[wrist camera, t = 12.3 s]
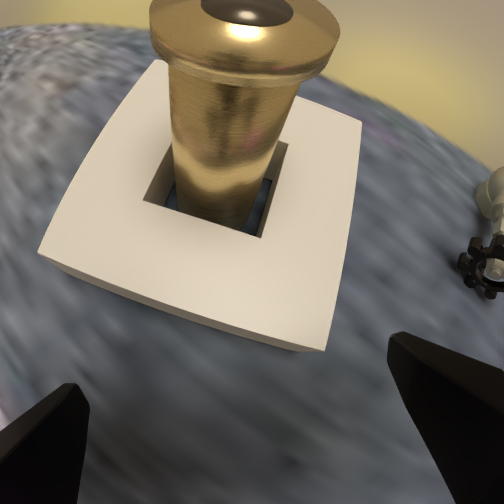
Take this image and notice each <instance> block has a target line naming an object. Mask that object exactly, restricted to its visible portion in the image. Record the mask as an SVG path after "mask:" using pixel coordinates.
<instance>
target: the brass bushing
mask: <svg viewBox="0 0 504 504" xmlns="http://www.w3.org/2000/svg"><path fill="white" fill-rule="evenodd" d="M149 19H150V40H151V44H152V47H153V49H154V51H155V52H156V53H157V55H158V56H159V57H160V58H161V59H162V60H164V61H165V62H166V63H167V64H168V77H169V101H170V120H171V135H172V149H173V162H174V174H175V185H176V195H177V205H178V212H181V213H184V214H187V215H190V216H193V217H196V218H199V219H203V220H206V221H209V222H212V223H215V224H218V225H221V226H224V227H227V228H230V229H233V230H236V231H239V230H240V229H241V228H242V227H243V226H244V224H245V223H246V221H247V219H248V217H249V214H250V212H251V209H252V206H253V204H254V201H255V199H256V196H257V193H258V191H259V188H260V186H261V183H262V180H263V178H264V175H265V173H266V170H267V168H268V165H269V162H270V160H271V157H272V155H273V152H274V150H275V147H276V144H277V142H278V139H279V137H280V134H281V132H282V129H283V127H284V124H285V122H286V119H287V117H288V114H289V111H290V109H291V106H292V104H293V101H294V99H295V96H296V94H297V91H298V89H299V86H300V84H301V82H304V81H306V80H308V79H311V78H313V77H315V76H316V75H318V74H319V73H320V72H321V71H322V70H323V69H324V68H325V66H326V65H327V63H328V61H329V59H330V57H331V55H332V52H333V50H334V48H335V46H336V44H337V42H338V39H339V36H340V27H339V24H338V22H337V20H336V18H335V17H334V16H333V14H332V13H331V12H330V11H329V10H328V9H327V8H326V7H325V6H324V5H322V4H321V3H320V2H318V1H317V0H153V1H152V3H151V5H150V9H149Z"/></svg>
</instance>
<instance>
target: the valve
mask: <svg viewBox="0 0 504 504" xmlns="http://www.w3.org/2000/svg"><path fill="white" fill-rule="evenodd" d="M475 200H476V202H477V204H478V206H479V208H480V210H481V212H482V214H483V216H484V217H485V218H488V219H491V220H492V221H493V222H494V228H493V234H492V235H493V239H492V241H491V244H490V246H489V247H486V248H483V247H482V245H481V242H482V240H481V239H480V238H478V237H472V238H471V239H470V242H469V245H468V249H467V251H468V254H469V255H470V256H472V258H471V259H469V258H466V254H467V253H466V252H463V253H461V254H460V255H459V258H458V262H457V267H458V269H459V270H461V271H468V272H467V275H466V279H465V285H466V286H467V287H469V288H475V287H476V286H477V285H480V286H482V287H484V288H485V293H484V295H485V297H486V298H488V299H495V298H496V296H497V292H504V282H497V281H492V280H490V279H488V278H486V277H485V276H483V273H484V270H485V268H486V272H487V275H488V276H489V277H491V278H493V279H496V280H499V279H502V278H504V167H501V168H499V169H497V170H496V171H495V172H494V173H493V174H492V175H491V177H490V179H489V180H485V181H484V182H483V183H481V184H480V185H478V186H477V190H476V195H475ZM480 261H481V262H480ZM479 262H480V263H479ZM478 263H479V265H478V266H477V264H478Z"/></svg>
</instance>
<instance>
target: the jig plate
mask: <svg viewBox="0 0 504 504" xmlns="http://www.w3.org/2000/svg"><path fill="white" fill-rule="evenodd" d="M361 128H362V122H361V121H359V120H356V119H354V118H352V117H349V116H347V115H345V114H342V113H340V112H337V111H335V110H332V109H330V108H327V107H325V106H322V105H320V104H317V103H315V102H312V101H309V100H306V99H304V98H301V97H298V96H295V99H294V101H293V104H292V106H291V109H290V111H289V114H288V117H287V119H286V122H285V124H284V127H283V129H282V132H281V134H280V137H279V139H278V142H277V144H276V147H275V150H274V152H273V155H272V157H271V160H270V162H269V165H268V168H267V170H266V173H265V175H264V178H267V179H270V180H273V181H272V184H271V187H270V190H269V194H268V197H267V200H266V204H265V207H264V210H263V214H262V217H261V220H260V224H259V227H258V230H257V234H256V237H255V236H252V235H249V234H246V233H243V232H239V231H236V230H233V229H230V228H227V227H224V226H221V225H218V224H215V223H212V222H209V221H206V220H203V219H199V218H196V217H193V216H190V215H187V214H184V213H181V212H178V211H175V210H171V209H168V208H165V207H163V206H164V204H165V202H166V199H167V197H168V195H169V193H170V190H171V188H172V186H173V184H174V182H175V174H174V162H173V149H172V135H171V120H170V101H169V77H168V64H167V63H166V62H165V61H162V60H156V59H155V60H154V62H153V63H152V64H151V65H150V66H149V68H148V69H147V70H146V71H145V73H144V74H143V75H142V76H141V78H140V79H139V80H138V81H137V83H136V84H135V85H134V87H133V88H132V89H131V91H130V92H129V93H128V95H127V96H126V97H125V99H124V100H123V101H122V103H121V104H120V105H119V107H118V108H117V110H116V111H115V113H114V114H113V115H112V117H111V118H110V120H109V121H108V123H107V124H106V126H105V127H104V129H103V130H102V132H101V133H100V135H99V136H98V138H97V139H96V141H95V143H94V144H93V146H92V147H91V149H90V151H89V152H88V154H87V156H86V157H85V159H84V161H83V162H82V164H81V166H80V167H79V169H78V171H77V173H76V174H75V176H74V178H73V180H72V182H71V183H70V185H69V187H68V189H67V191H66V193H65V195H64V197H63V199H62V200H61V202H60V204H59V206H58V208H57V210H56V212H55V214H54V217H53V219H52V221H51V223H50V225H49V227H48V229H47V231H46V234H45V236H44V238H43V240H42V243H41V245H40V247H39V250H38V252H37V253H39V254H40V255H41V256H43V257H44V258H46V259H47V260H48V261H50V262H51V263H52V264H54V265H55V266H57V267H58V268H60V269H61V270H62V271H64V272H65V273H67V274H69V275H71V276H74V277H76V278H78V279H81V280H83V281H86V282H88V283H91V284H93V285H95V286H98V287H100V288H103V289H105V290H108V291H110V292H113V293H115V294H118V295H121V296H123V297H126V298H128V299H131V300H134V301H136V302H139V303H142V304H145V305H147V306H150V307H153V308H156V309H158V310H161V311H164V312H167V313H170V314H173V315H176V316H178V317H181V318H184V319H187V320H190V321H193V322H196V323H199V324H202V325H206V326H209V327H212V328H215V329H218V330H221V331H225V332H228V333H231V334H234V335H238V336H241V337H244V338H248V339H251V340H255V341H258V342H262V343H265V344H269V345H273V346H276V347H280V348H284V349H287V350H291V351H295V352H316V351H325V348H326V343H327V339H328V335H329V331H330V326H331V322H332V317H333V313H334V308H335V303H336V299H337V294H338V289H339V284H340V278H341V273H342V268H343V262H344V257H345V251H346V245H347V239H348V233H349V227H350V220H351V214H352V207H353V200H354V192H355V184H356V176H357V168H358V159H359V149H360V139H361Z"/></svg>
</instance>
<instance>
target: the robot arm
mask: <svg viewBox="0 0 504 504" xmlns="http://www.w3.org/2000/svg"><path fill="white" fill-rule="evenodd" d="M387 363H388V366H389V369H390V371H391V373H392V376H393V378H394V380H395V383H396V385H397V388H398V390H399V392H400V395H401V397H402V400H403V402H404V404H405V407H406V409H407V411H408V413H409V414H410V416H411V418H412V420H413V422H414V423H415V425H416V427H417V429H418V431H419V433H420V434H421V436H422V438H423V440H424V442H425V444H426V446H427V448H428V449H429V451H430V453H431V455H432V457H433V459H434V461H435V463H436V465H437V467H438V469H439V471H440V473H441V475H442V477H443V479H444V481H445V483H446V485H447V487H448V489H449V491H450V493H451V495H452V497H453V499H454V501H455V503H456V504H504V371H503V370H502V369H499V368H497V367H494V366H492V365H489V364H486V363H484V362H481V361H478V360H476V359H473V358H471V357H468V356H465V355H463V354H460V353H458V352H455V351H452V350H450V349H447V348H445V347H442V346H440V345H437V344H435V343H432V342H429V341H427V340H424V339H422V338H419V337H417V336H414V335H412V334H409V333H407V332H404V331H402V332H398V333H395V334H392V335H391V336H390V337H389V342H388V352H387ZM89 414H90V406H89V403H88V401H87V399H86V398H85V396H84V394H83V392H82V391H81V389H80V387H79V386H78V385H77V384H75V383H65V384H63V385H61V386H60V387H59V388H57V389H56V390H55V391H53V392H52V393H51V394H49V395H48V396H47V397H45V398H44V399H43V400H41V401H40V402H39V403H37V404H36V405H35V406H33V407H32V408H31V409H29V410H28V411H27V412H25V413H24V414H23V415H21V416H20V417H19V418H17V419H16V420H15V421H13V422H12V423H11V424H9V425H8V426H7V427H5V428H4V429H3V430H1V431H0V504H77V499H78V492H79V485H80V479H81V473H82V468H83V462H84V457H85V451H86V442H87V431H88V422H89Z"/></svg>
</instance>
